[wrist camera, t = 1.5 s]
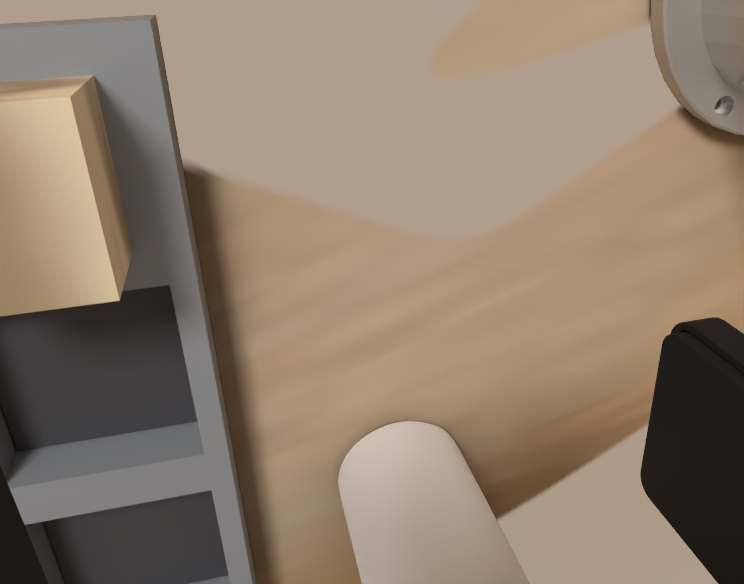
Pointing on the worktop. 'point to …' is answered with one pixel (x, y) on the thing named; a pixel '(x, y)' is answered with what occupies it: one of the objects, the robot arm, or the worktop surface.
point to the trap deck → (123, 355)
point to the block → (58, 199)
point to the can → (420, 512)
